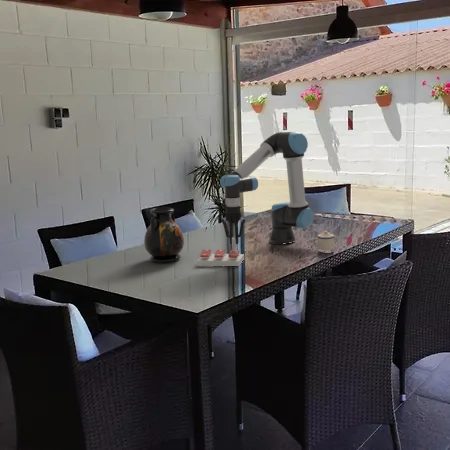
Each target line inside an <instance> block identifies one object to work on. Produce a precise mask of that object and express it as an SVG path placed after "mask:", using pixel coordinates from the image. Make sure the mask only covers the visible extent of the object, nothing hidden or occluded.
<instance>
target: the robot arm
mask: <svg viewBox="0 0 450 450" xmlns="http://www.w3.org/2000/svg"><path fill="white" fill-rule="evenodd" d="M308 144H309V143H308V138H307V137H306V135H304V134H303V133H302V132H297V131H279V132H275V133H274V134H272V135H270V136H269V137H267V138H266V139H264V141H262V143H260V145H259V147H258V149H256V150H255V151H254V152H253V153H252V154H251V155H250V156H248V157H247V158H246V159H245V160H244V161H243V162H242V163H241V164H240V165H238V167H236V168H235V169H234V170H232V172H231V173H229V174H226V175H222V177H221V178H220V181H219V183H220V187H221V188H222V189H224V191H225V196H224V197H225V199H224V200H225V216H224V217H223V218H221V219H220V221H221V222H222V224H223V228H224V233H225V237H226V238H229V243H230V245H231V250H232V251H236V250H238V246H237V245H239V238H241V237H242V236H243V232H244V227H245V222H246V221H247V218H244V217H243V216H242V214H241V194H242V193H247V192H248V193H249V192H253V191H256V190H257V189H258V188H259V180H258V179H257V177H256V176H250V175H251V174H252V173H254V172H255V170H257V169H258V168H259V167H260V166H261V165H263V163H264V162H265V161H267V160H268V159H269V158H273V157H274V156H275V155H277V154H282V157H283V159H284V160H285V162H286V172H287V173H286V174H287V181H288V182H287V183H288V192H289V193H288V194H289V202H288V201H287V202H279V203H275V204H273V205H272V206H271V212H270V213H271V232H270V235H269V243H270V244H272V243H274V245H284V244H283V243H289V242H293V241H295V242H296V235H295V232H294V230H293V227H294V228H297V229H306V228H308V227H310V226H311V224H312V222H313V221H314V217H315V216H314V211H313V210H312V208H311V207H309V202H308V201H307V200H306V193H305V192H306V191H305V180H304V170H303V158H304V157H305V153H306V152H307V149H308ZM227 222H228V223H227ZM239 222H240V227H239ZM228 224H229V227H228ZM233 225H234V226H233ZM234 236H235V237H234Z"/></svg>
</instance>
